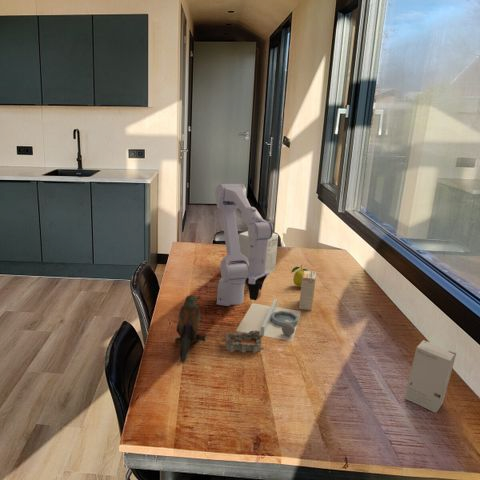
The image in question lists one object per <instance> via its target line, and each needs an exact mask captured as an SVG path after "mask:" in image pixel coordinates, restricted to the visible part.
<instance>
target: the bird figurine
mask: <svg viewBox="0 0 480 480" xmlns="http://www.w3.org/2000/svg"><path fill="white" fill-rule="evenodd" d="M200 299H202V297H200V296H196V295H193V294H190V295H187V296H186V297H185V300H184V302H183V305H181V307H180V310H179V313H178V318H177V320H178V321H177V325H176V332H177V334H178V336H179V337H176V338H175V339H174V342H175V343H181V344H180V345H179V351H178V352H179V353H178V354H179V362H181V363H183V364H185V362H186V361H187V359H188V356H189V352H190V348H191V346H192V345H193V342H199V341H202V342H207V341H208V338H209V337H208V335H207V334H198V331H199V330H198V329H199V325H200V321H201V320H200V319H201V309H200V306H198V305H197V302H198V300H200Z"/></svg>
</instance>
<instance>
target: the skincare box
mask: <svg viewBox="0 0 480 480" xmlns="http://www.w3.org/2000/svg"><path fill="white" fill-rule="evenodd" d="M413 356H414V357H413V359H412V364H411V369H410V371H409V372H410V373H409V376H408V380H407V381H408V382H407V384H406V389H405V393H404V397H403V398H404V400H406V401H410V402H411V403H414V404H415V405H417V406H419V407H420V406H421V407H422V408H425V409H427V410H429V411H431V412H432V413H435V414H437V412H438V411H439V410H440V408H441V407H442V405H443V403H444V400H445V398H446V394H447V393H446V392H447V390H448V385H449V382H450V378H451V375H452V372H453V368H454V364H455V361H456V358H457V357H456V356H457V353H456V352H455V351H452V350H450V349H447V348H445V347H443V346H441V345H438V344H435V343H432V342H430V341H426V340H422V341H421V342H420V343H419V344H418V345H417V346H416V348H415V353H414V355H413Z"/></svg>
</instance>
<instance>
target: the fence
mask: <svg viewBox="0 0 480 480" xmlns="http://www.w3.org/2000/svg"><path fill="white" fill-rule="evenodd" d="M277 305H278V299H276V298H274V299H273V301H272V303H271V305H270V306H271V308H270V310H269V312H268V314H267V316H266V318H265V320H264V322H263V324H262V326H261V336H260V337H265V336H264V334H265V332H266V330H267V328H268V325H269V323H270V321H271V316H272V314H273V312H275V310H276V307H278V306H277Z"/></svg>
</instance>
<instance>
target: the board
mask: <svg viewBox="0 0 480 480" xmlns="http://www.w3.org/2000/svg"><path fill="white" fill-rule="evenodd" d="M270 308H271V305H266V304H261V303H255V302H254V303H253V302H252V303H251V304H250V307H249V308H248V310H247V311H246V313H245V315H244V316H243V318H242V320H241V321H240V323H239V325H238V326H237V328H236V329H235V332H237V333H244V332H246V333H249V332H250V331H260V337H262V336H261V326H262V324H263V322H264V320H265V318H266V316H267V314H268V312H269V310H270ZM278 311H286V312H292V313H294V314H295V315H297V316H298V317H299V318H298V322H299V320H300V317H301V314H302V311H301V310H295V309H290V308H284V307H279V306H277V307H276V310H275V312H278ZM297 327H298V324H297V325H296V326H294V328H295V331H294V333H293V334H292V335H290V336H287V335H285V334H284V333H283V332H282V327H281V326H278V325H276V324H274V323H273V322H272V321H270V323H269V325H268V328H267V330H266V332H265V334H264V336H263V337H267V338H272V339H277V340H283V341H288V342H293V341H294V337H295V334H296V330H297Z"/></svg>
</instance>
